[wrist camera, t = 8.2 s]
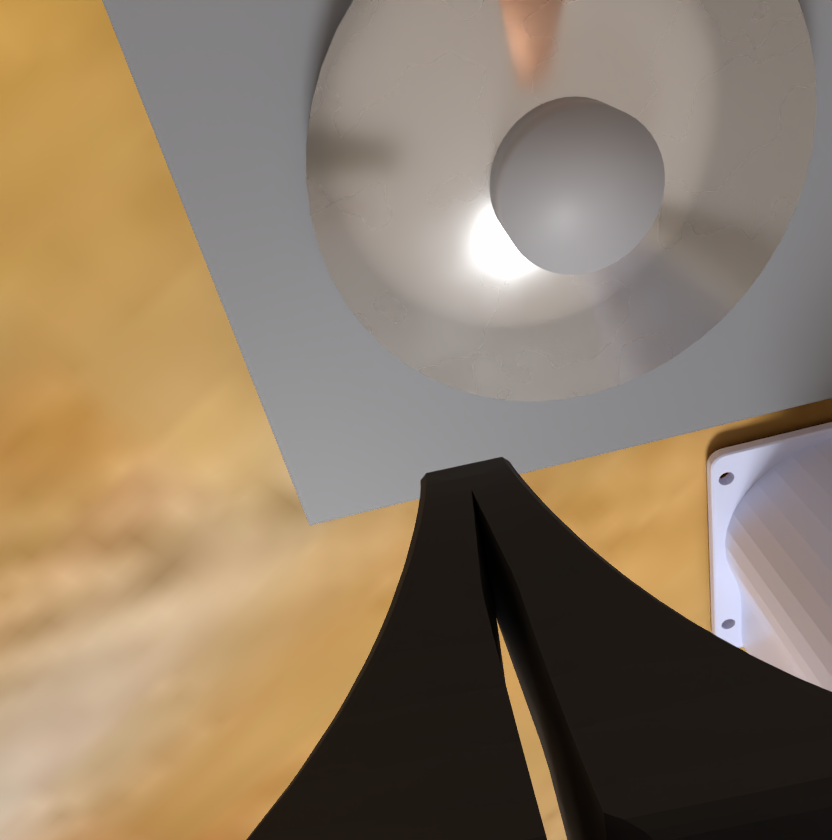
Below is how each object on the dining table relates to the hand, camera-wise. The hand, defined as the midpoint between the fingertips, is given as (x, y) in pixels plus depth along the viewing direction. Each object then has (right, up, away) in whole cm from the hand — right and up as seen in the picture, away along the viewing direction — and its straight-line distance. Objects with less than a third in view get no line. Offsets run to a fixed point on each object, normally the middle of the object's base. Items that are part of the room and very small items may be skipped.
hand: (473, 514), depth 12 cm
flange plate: (+2, +9, +6) cm, 11 cm away
